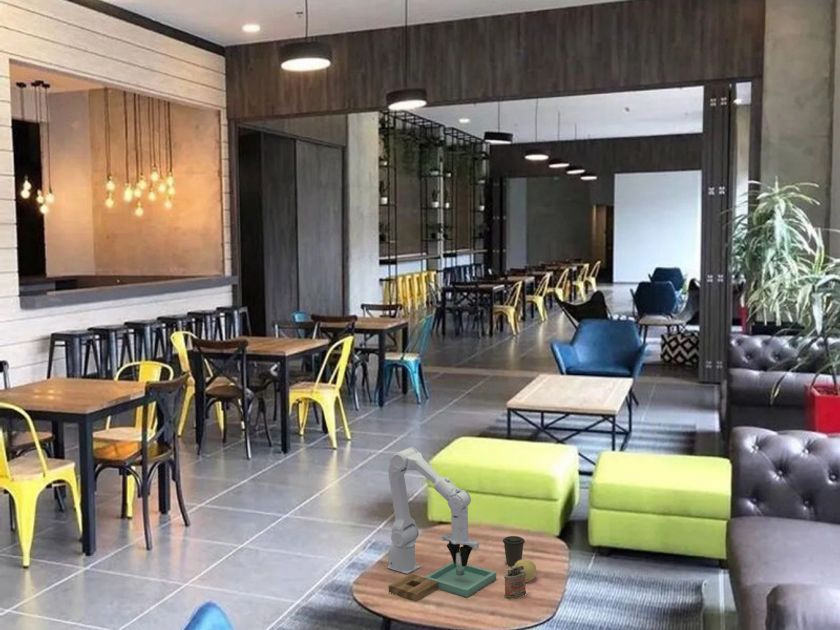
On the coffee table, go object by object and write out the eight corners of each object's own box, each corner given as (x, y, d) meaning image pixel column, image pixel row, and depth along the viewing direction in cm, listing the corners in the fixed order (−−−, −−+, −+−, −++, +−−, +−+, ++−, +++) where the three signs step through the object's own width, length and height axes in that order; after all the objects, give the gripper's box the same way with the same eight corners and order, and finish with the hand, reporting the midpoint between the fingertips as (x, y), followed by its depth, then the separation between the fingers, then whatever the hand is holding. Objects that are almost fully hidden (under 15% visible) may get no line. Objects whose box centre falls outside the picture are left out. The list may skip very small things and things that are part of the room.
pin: (454, 574, 285) (453, 551, 284) (459, 571, 287) (459, 549, 286) (460, 576, 283) (460, 554, 282) (466, 573, 285) (465, 551, 284)
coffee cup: (500, 567, 298) (499, 540, 297) (506, 558, 305) (506, 532, 304) (521, 570, 295) (521, 543, 294) (527, 561, 302) (527, 535, 301)
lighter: (508, 600, 271) (507, 570, 270) (502, 596, 274) (502, 567, 273) (528, 594, 274) (528, 566, 273) (522, 591, 277) (522, 562, 276)
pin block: (388, 592, 278) (388, 585, 278) (410, 580, 288) (410, 573, 287) (416, 601, 271) (416, 594, 271) (438, 588, 280) (438, 581, 280)
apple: (537, 584, 282) (525, 566, 280) (517, 589, 286) (506, 571, 285) (542, 569, 288) (531, 552, 287) (523, 574, 292) (512, 557, 291)
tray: (424, 584, 284) (424, 577, 284) (454, 567, 298) (454, 560, 298) (467, 597, 273) (467, 590, 273) (496, 579, 287) (496, 572, 287)
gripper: (436, 525, 285) (436, 563, 286) (470, 534, 276) (471, 573, 277) (448, 519, 290) (448, 556, 292) (482, 528, 281) (482, 566, 283)
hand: (460, 564), depth 285 cm, fingers closed on pin, 3 cm apart
